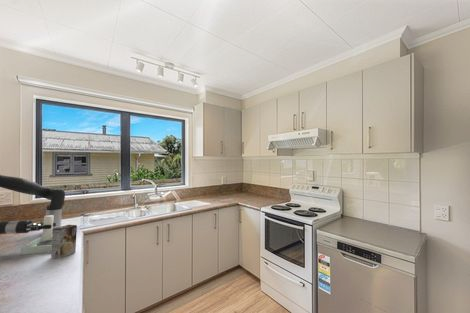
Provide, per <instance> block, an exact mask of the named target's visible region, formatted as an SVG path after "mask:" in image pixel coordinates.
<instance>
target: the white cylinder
mask: <svg viewBox="0 0 470 313" xmlns="http://www.w3.org/2000/svg"><path fill="white" fill-rule="evenodd" d="M53 220H54V215H49V216H46V215H44V216H43V222H44V224H43V225H52V227H51V228H50V229H42V236H41V237H42V240H48V239H51V238H52V236H53V233H52V230H53Z"/></svg>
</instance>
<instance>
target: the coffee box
mask: <svg viewBox="0 0 470 313" xmlns="http://www.w3.org/2000/svg"><path fill="white" fill-rule="evenodd" d="M77 226H78V225H77V224H66V225H61V227H58V228H54V229H53V233H52V236H53V237H52V251H51V252H50V258H51V257H52V259H59V260H60V259H63V258H65V257H67V256H70V255H72V254H74V253H76V247H77V246H76V245H77V231H78V227H77Z"/></svg>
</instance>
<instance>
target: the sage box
mask: <svg viewBox="0 0 470 313" xmlns="http://www.w3.org/2000/svg"><path fill="white" fill-rule="evenodd" d="M52 237H53V235H52ZM19 251H20V253H19V255H32V254H35V253H36V254H46V253H51V251H52V238H51V239H48V240H42V236H41V237H38V238H36V239H34V240H33V241H31V242H29V243H27V244H25V245H23V246H21V247H20V250H19Z"/></svg>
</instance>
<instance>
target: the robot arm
mask: <svg viewBox="0 0 470 313" xmlns="http://www.w3.org/2000/svg"><path fill="white" fill-rule="evenodd" d="M0 188H2V189H6V190H9V191H13V192H17V193H21V194H26V195H32V196H38V197H39V198H43V199H47V200H49V201H50V204H49V205H47V206H46V209H45V210H46V211H45V216H49V215H54V220H53V229H54V228H58V227H62V216H63V215H62V214H63V207H64V204H65V199H66V198H65V197H66V192H65V190H64V189H63V188H53V187H49V186H43V185H40V184H39V183H37V182H35V181H33V180H31V179H26V178H23V177H17V176H9V175H4V174H0ZM43 224H44V221H39V222H38V221H37V222H33V221H32V220H30V219H27V220H25V219H23V220H11V221H10V220H9V221H6V220H5V221H0V235H1V234H2V235H4V234H5V235H6V234H8V235H10V234H11V235H12V234H13V235H17V234H28V233H30V232H36V231H43V229H50V228H51V227H52V225H43ZM52 234H53V230H52Z"/></svg>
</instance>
